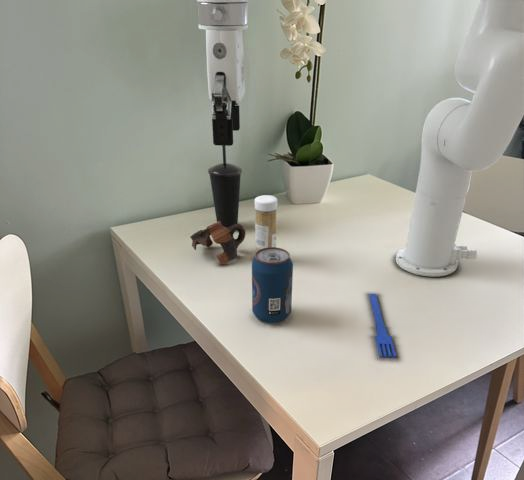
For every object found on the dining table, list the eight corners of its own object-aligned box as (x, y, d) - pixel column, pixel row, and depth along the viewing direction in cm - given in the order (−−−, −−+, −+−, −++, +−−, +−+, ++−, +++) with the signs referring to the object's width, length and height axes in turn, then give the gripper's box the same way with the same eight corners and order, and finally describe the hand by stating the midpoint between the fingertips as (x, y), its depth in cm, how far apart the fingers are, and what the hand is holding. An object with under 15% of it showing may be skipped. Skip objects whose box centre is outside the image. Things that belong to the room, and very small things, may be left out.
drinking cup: (225, 218, 127) (221, 133, 115) (249, 225, 123) (248, 139, 111) (205, 228, 122) (198, 141, 110) (229, 236, 118) (226, 146, 106)
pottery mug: (210, 272, 105) (192, 236, 102) (199, 272, 113) (182, 239, 111) (259, 246, 107) (241, 210, 105) (244, 248, 116) (228, 215, 114)
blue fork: (365, 295, 96) (365, 293, 96) (379, 295, 96) (379, 293, 96) (379, 357, 81) (380, 355, 81) (396, 357, 81) (396, 355, 81)
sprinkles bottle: (280, 261, 108) (282, 199, 100) (262, 266, 106) (262, 204, 98) (268, 253, 111) (269, 192, 103) (251, 258, 109) (250, 197, 101)
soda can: (250, 306, 93) (249, 246, 86) (287, 304, 94) (290, 244, 86) (254, 327, 88) (253, 265, 80) (293, 325, 88) (296, 263, 81)
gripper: (241, 21, 69) (244, 152, 79) (252, 13, 82) (253, 125, 93) (187, 21, 69) (196, 151, 79) (207, 13, 83) (213, 124, 93)
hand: (227, 137), depth 86 cm, fingers open, 9 cm apart
